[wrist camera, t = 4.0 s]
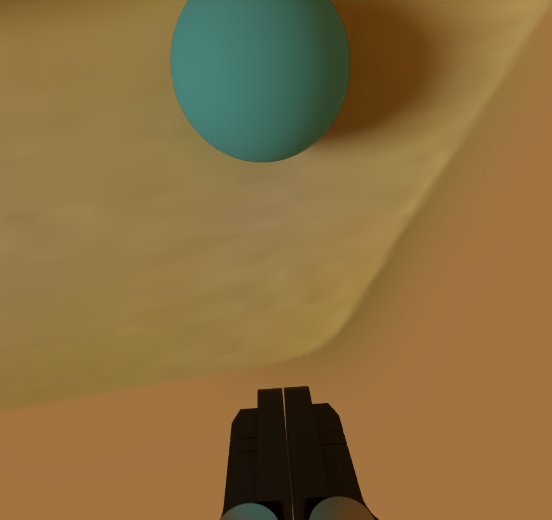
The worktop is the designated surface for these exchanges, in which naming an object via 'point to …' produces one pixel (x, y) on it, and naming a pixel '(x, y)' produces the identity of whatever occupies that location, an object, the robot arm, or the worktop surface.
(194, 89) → the ball
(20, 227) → the worktop surface
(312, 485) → the robot arm
